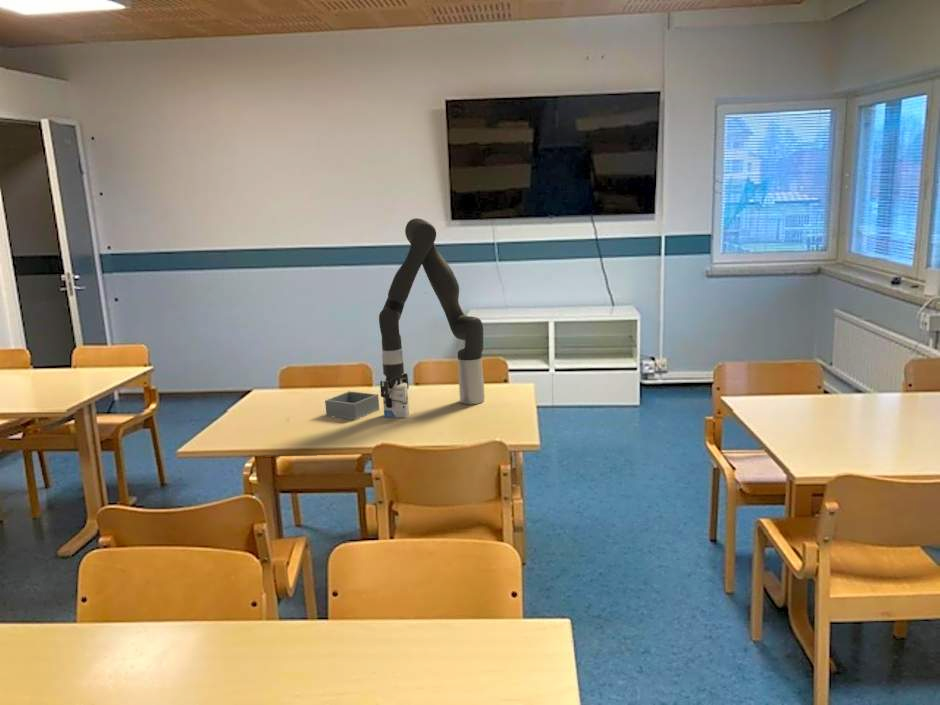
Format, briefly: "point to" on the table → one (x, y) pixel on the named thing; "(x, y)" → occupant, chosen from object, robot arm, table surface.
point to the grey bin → (352, 405)
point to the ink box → (398, 402)
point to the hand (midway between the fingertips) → (395, 404)
